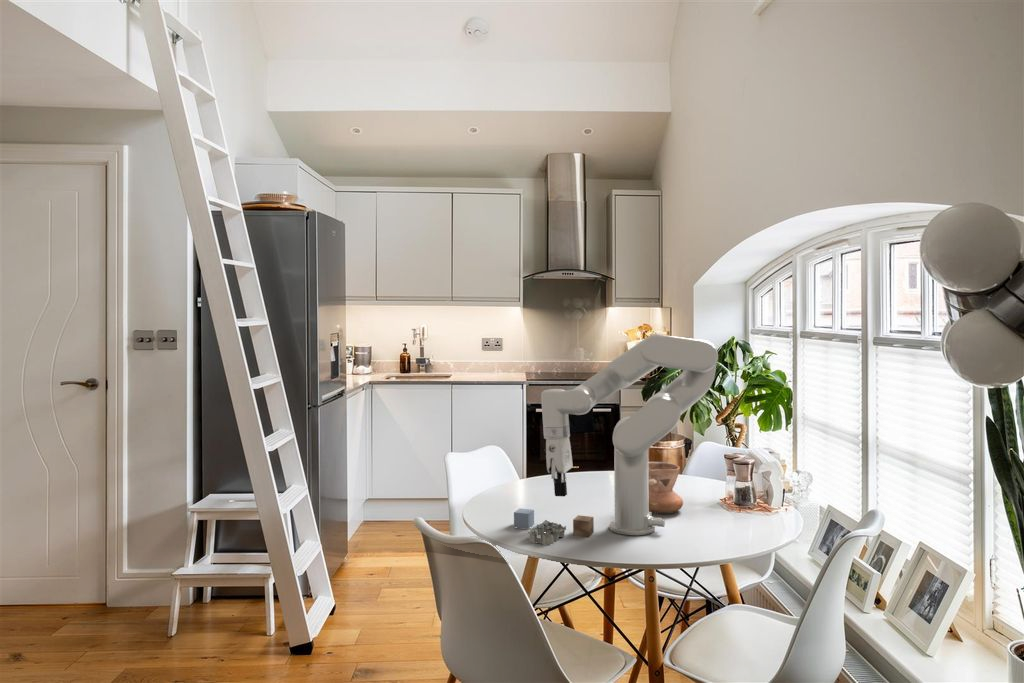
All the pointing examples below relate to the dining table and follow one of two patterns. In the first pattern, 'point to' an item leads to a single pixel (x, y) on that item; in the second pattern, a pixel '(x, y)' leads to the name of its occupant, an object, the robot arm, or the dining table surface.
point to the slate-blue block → (524, 518)
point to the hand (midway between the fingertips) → (561, 495)
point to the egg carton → (551, 531)
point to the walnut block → (583, 526)
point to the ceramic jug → (663, 488)
